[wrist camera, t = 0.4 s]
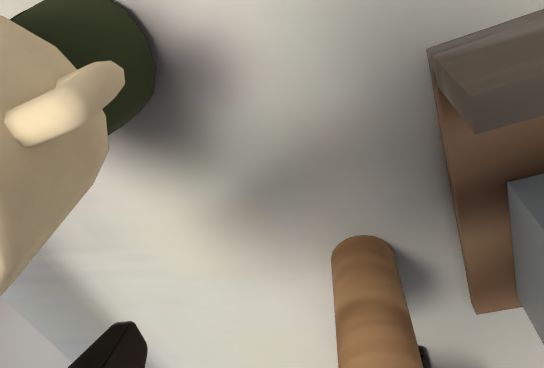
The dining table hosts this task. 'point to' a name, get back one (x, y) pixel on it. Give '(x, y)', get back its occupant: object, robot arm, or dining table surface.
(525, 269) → the sliding block
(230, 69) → the dining table surface
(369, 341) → the dowel
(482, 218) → the base board
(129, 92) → the character mug
